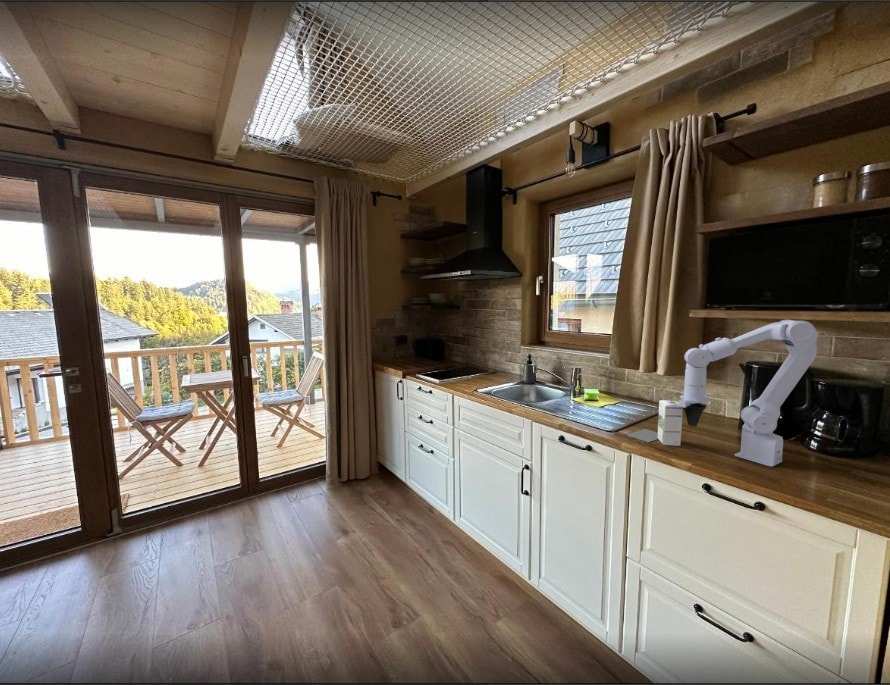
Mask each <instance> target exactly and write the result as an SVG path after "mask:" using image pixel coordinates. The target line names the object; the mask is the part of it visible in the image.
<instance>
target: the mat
mask: <svg viewBox="0 0 890 685" xmlns="http://www.w3.org/2000/svg"><path fill="white" fill-rule="evenodd" d="M657 432H658V431H657ZM657 432H656V431H654V430H650V429H646V428H643V429H640V430H637V431H633V432H630V433H627V434H625V436H627V437H629V438H632V437H633V438H632V439H635V438H636V439H635V440H638V439H639V441H641V440H642V442H644V441H646V442H645V443H648V442H649V443H652V442H655V441H659V440H658V439H657ZM651 441H652V442H651Z"/></svg>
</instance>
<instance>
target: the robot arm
mask: <svg viewBox="0 0 890 685" xmlns="http://www.w3.org/2000/svg"><path fill="white" fill-rule="evenodd" d="M818 337H819V332H818V331H817V328H815V326H814V325H813V324H812V323H811V322H809V321H805V320H794V319H793V320H792V319H782V320H780V321H778V322H772V323H769V324H766V325H764V326H761V327H759V328H755V329H754V330H751V331H748V332H746V333H744V334H741V335H739V336H737V337H734V338H732V339H731V338H728V337H722V338H721V337H717V338H715V339H714V340H713V341H711V342H709V343H706V344H702V343H701V344H699V345H698V347H693V348H689V349H688V350H686V352H685V353H684V355H683V358H684V361H685V362H686V363H685V364H686V365H685V370H684V384H683V386H684V388H683V395H682V394H681V395H680V396H679V398H680V400H679V399H678V403H679V406H680V407H682V408H683V412H684V413H685V417H686V421H687V425H688V426H692V427H697V426H698V424H699V421H700V419H701V417H702V416H701V415H702V414H703V412H704V410H706V408H707V405H706V404H704V403H707V402H709V395H706V389H707V388H706V386H707V366H708V365H709V364H710V363H711V362H716V361H718V360H721V359H724V358H726V357H730V356H732V355H735V354H736V352H737V350H738V349H741V348H744V347H747V346H749V345H753V344H755V343H756V344H757V343H760V342H762V341H765V340H780V341H781V342H782V343H783V344H784V345H785V347H786V349H787V351H788V352H789V354H788V356H787V357H786V358H785V360H784V361H783V363H782V364H781V366H780V367H779V369H778V370H777V371H776V373H775V374H774V376H773V377H772V379H771V380H770V382H769V383H768V384H767V386H766V387H765V389H764V390H763V392H762V394H760V396H759V397H758V398H756V399H755V400H753V401H752V402H751V403H750V404H749V405H748V406H745V407H744V408H743V409H742V410H741V413H740V418H741V420H742V421H743V422H744V424H743V425H742V429H741V440H740V441H741V442H740V451H739V452H737V453H734V457H736V458H737V457H738V458H740V459H743V460H748V461H751V462H755V463H758V464H761V465H764V466H767V467H770V468H771V467H775V466H776V465H779V464H780V463H783V453H784V452H783V449H784V439H783V436H781V435H778V434H775V433H773V432H774V431H775V430H776V429H777V427H778V420H779V418H780V416H781V406H782V405H783V404H784V402H785V401H786V399H787V398H788V397H789V396H790V393H792V391H793V390H794V388H795V387H796V385H797V384H798V383H799V381H800V380H801V378H802V377H803V375H804V374H805V373H806V372H807V370H808V369H809V367H810V366H811V365H812V363H813V361H815V359H816V357H817V355H818V351H817V350H818V348H817V346H818V345H817V339H818Z"/></svg>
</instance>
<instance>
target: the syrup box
mask: <svg viewBox="0 0 890 685" xmlns="http://www.w3.org/2000/svg"><path fill="white" fill-rule="evenodd" d="M683 412H684V409H683V408H682V407H680V406H679V401H677V400H672V399H671V400H669V399H665V400H664V399H663V400H659V402H658V419H657V439H658V440H657V441H659V442H660V443H661V444H662V445H664V446H673V447H681V444H682V443H681V441H682V430H683V429H682V426H683Z"/></svg>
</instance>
